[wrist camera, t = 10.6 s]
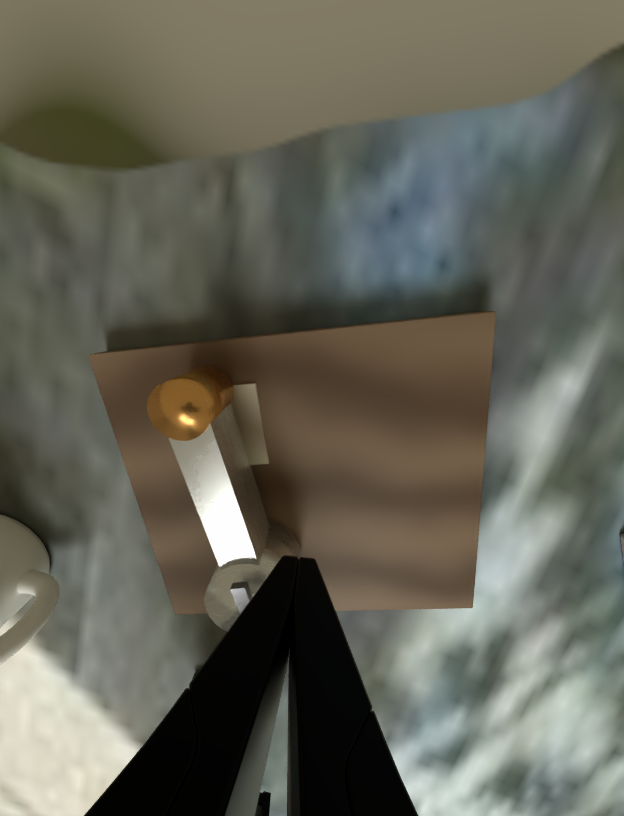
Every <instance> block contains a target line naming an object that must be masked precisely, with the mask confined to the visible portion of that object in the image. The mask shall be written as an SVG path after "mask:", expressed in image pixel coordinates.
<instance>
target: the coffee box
mask: <svg viewBox="0 0 624 816" xmlns="http://www.w3.org/2000/svg"><path fill="white" fill-rule="evenodd" d="M621 546H622V553H623V562H624V533H623V534H621Z"/></svg>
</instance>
